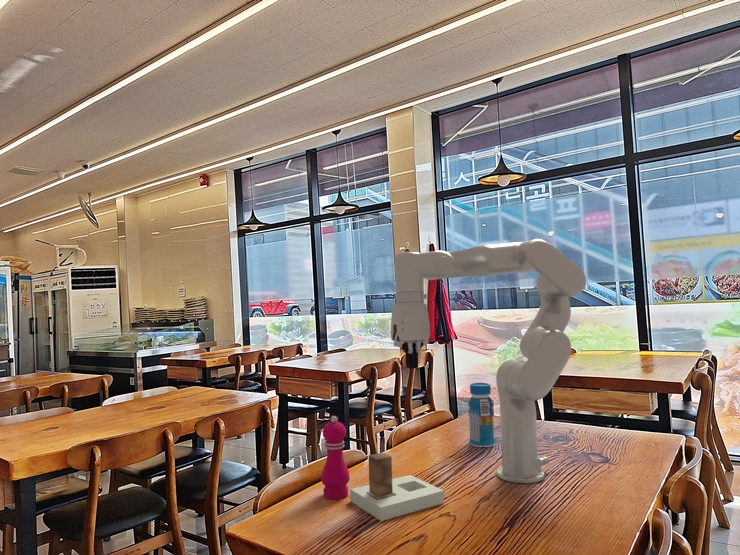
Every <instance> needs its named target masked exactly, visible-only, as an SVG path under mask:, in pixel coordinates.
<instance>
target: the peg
mask: <svg viewBox="0 0 740 555" xmlns="http://www.w3.org/2000/svg"><path fill="white" fill-rule="evenodd" d="M392 458H393V457H392V456H391V455H389V454H386V453H385V452H378V453H374V454H370V455H368V478H369V479H368V481H369V482H368V483H369V484H368V485H369V491H370V492H369V494H370V496H371V497H373V498H375V499H376V500H379V499H383V498H387V497H391V496H393V492H392V479H393V467H392V466H393V465H392V463H393V461H392V460H393V459H392Z"/></svg>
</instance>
